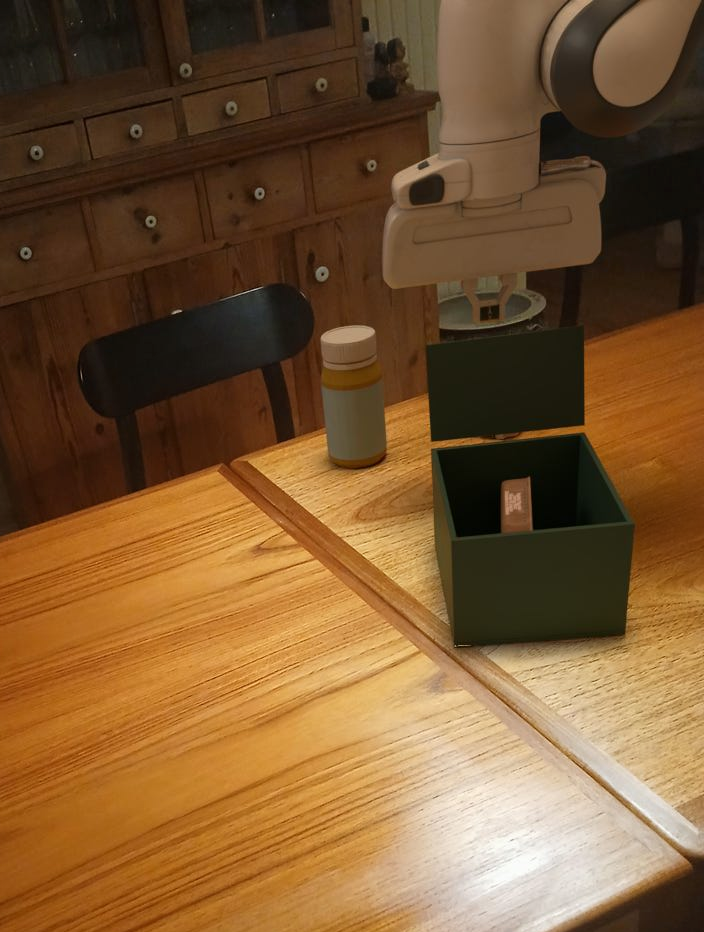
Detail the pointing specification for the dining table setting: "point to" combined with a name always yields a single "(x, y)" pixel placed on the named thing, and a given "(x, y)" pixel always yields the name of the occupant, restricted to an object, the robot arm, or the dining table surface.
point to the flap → (506, 384)
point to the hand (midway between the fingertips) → (488, 320)
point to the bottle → (353, 397)
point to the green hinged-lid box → (531, 543)
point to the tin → (516, 506)
